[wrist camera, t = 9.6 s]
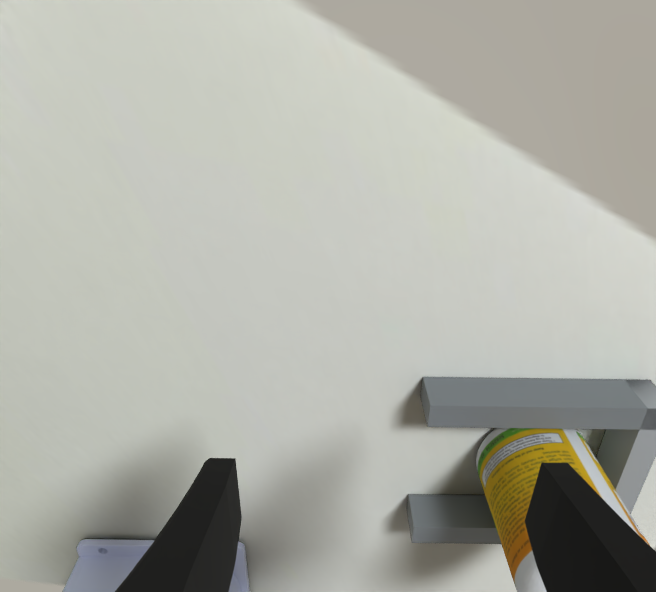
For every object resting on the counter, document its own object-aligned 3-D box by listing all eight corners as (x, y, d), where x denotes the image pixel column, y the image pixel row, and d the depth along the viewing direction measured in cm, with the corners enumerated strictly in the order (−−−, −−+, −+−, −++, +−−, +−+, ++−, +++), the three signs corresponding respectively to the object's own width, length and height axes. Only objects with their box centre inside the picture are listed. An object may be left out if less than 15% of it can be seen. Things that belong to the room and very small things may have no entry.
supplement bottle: (453, 468, 26) (512, 685, 17) (516, 395, 24) (620, 603, 15) (537, 501, 27) (632, 720, 19) (605, 434, 25) (748, 648, 16)
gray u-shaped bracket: (406, 509, 28) (411, 542, 26) (423, 377, 23) (430, 405, 22) (598, 512, 27) (617, 545, 26) (650, 379, 23) (676, 408, 21)
